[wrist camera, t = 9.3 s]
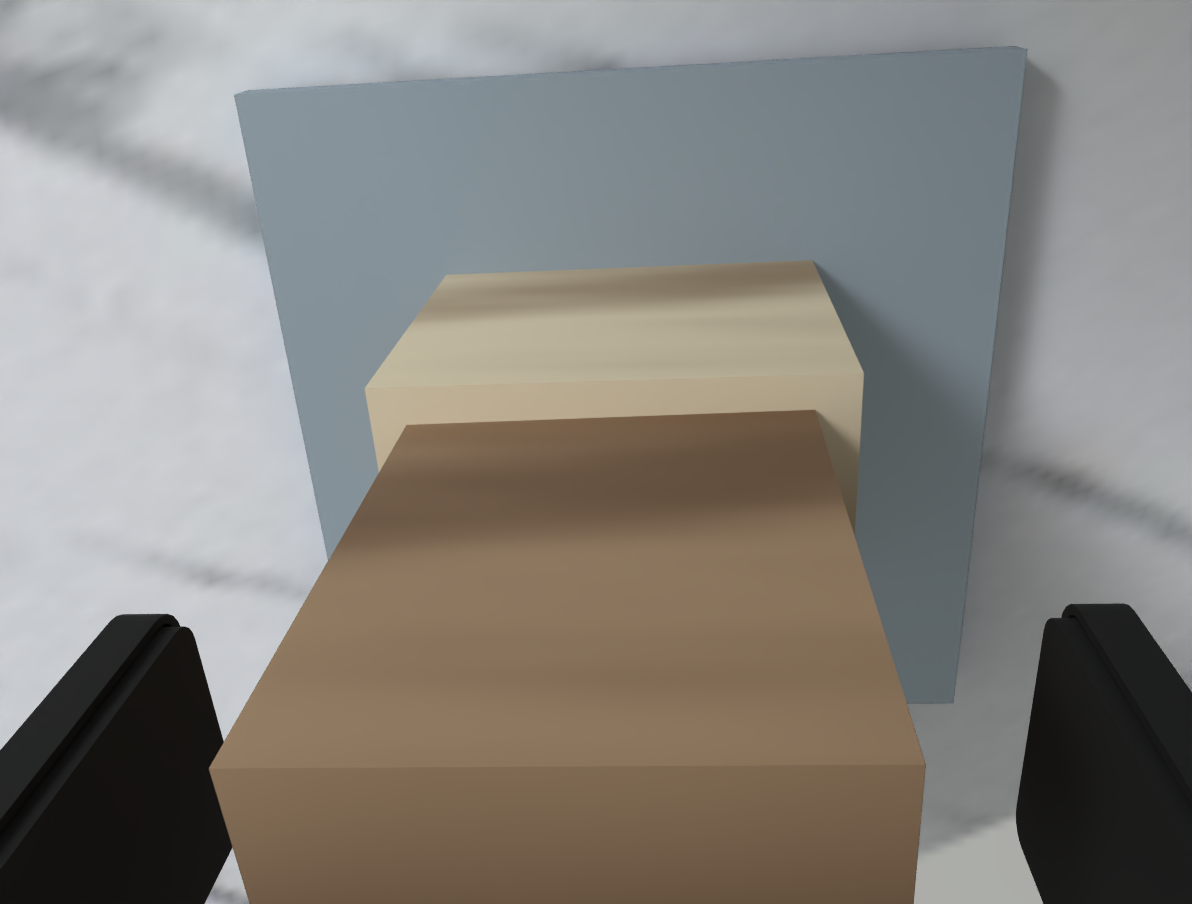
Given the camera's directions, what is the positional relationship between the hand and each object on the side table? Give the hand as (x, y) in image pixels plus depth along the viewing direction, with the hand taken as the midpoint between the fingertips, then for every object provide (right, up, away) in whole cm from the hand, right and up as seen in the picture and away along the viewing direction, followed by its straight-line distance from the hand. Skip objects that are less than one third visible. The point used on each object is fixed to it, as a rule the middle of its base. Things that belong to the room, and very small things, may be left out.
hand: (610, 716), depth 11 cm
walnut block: (0, +1, +2) cm, 2 cm away
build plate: (+1, +3, +7) cm, 8 cm away
